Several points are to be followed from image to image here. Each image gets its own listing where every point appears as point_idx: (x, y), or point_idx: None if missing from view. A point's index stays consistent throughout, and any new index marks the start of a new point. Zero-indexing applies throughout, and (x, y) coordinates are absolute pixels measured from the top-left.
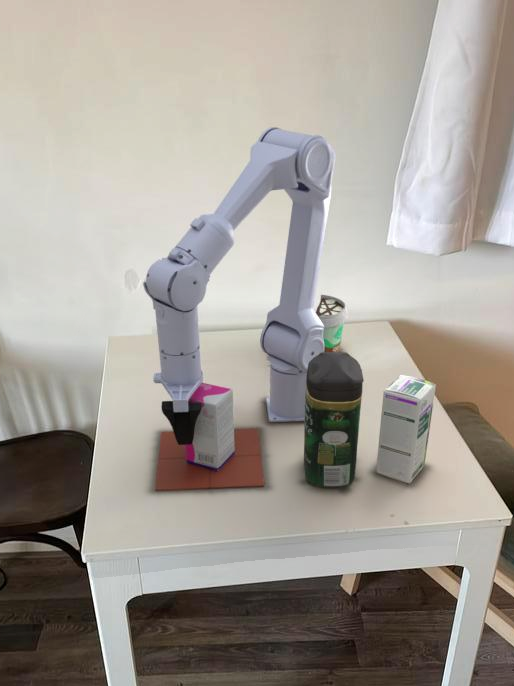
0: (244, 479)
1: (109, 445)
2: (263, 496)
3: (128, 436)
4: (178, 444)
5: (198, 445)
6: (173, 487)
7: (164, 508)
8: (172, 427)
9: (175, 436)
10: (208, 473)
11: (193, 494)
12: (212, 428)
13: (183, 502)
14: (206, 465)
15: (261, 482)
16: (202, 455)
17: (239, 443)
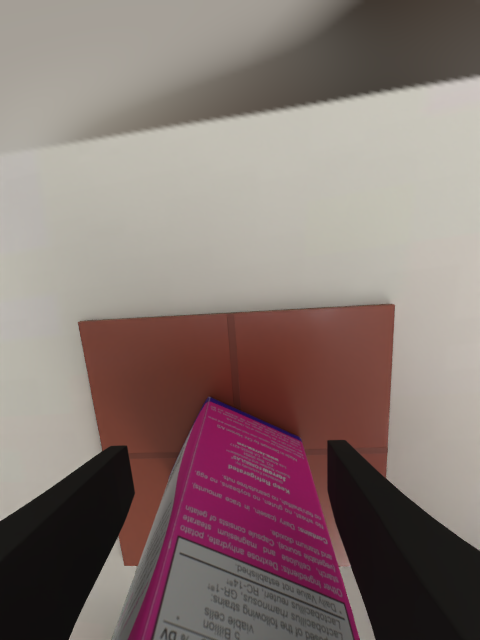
0: (143, 528)
1: (327, 125)
2: None
3: (384, 188)
4: (108, 447)
5: (169, 487)
6: (91, 369)
7: (14, 351)
8: (5, 519)
9: (73, 472)
10: (162, 451)
11: (80, 415)
12: (112, 637)
13: (45, 394)
14: (178, 455)
15: (134, 560)
16: (175, 468)
17: None
